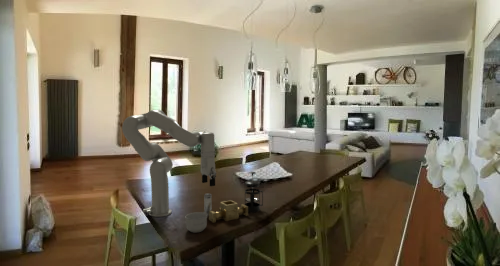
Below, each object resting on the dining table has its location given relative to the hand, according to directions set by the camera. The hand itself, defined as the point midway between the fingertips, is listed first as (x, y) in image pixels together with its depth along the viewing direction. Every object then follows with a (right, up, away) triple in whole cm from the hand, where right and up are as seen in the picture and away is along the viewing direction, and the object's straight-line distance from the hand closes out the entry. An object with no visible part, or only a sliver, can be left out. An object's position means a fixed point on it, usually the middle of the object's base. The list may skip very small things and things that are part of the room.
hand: (208, 184), depth 189 cm
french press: (+25, -17, +12) cm, 33 cm away
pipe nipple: (-1, -18, +2) cm, 18 cm away
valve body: (+12, -18, -2) cm, 22 cm away
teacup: (-3, -20, -20) cm, 28 cm away
